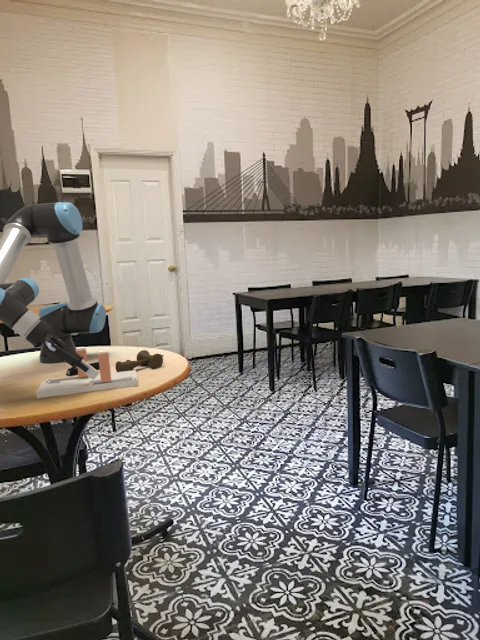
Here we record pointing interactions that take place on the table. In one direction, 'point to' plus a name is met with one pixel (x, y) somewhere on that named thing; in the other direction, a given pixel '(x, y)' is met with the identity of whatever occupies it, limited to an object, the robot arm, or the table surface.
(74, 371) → the electric trimmer
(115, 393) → the table surface
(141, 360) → the kendama
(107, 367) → the orange rectangular block
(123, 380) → the white fixture board
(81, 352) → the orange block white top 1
